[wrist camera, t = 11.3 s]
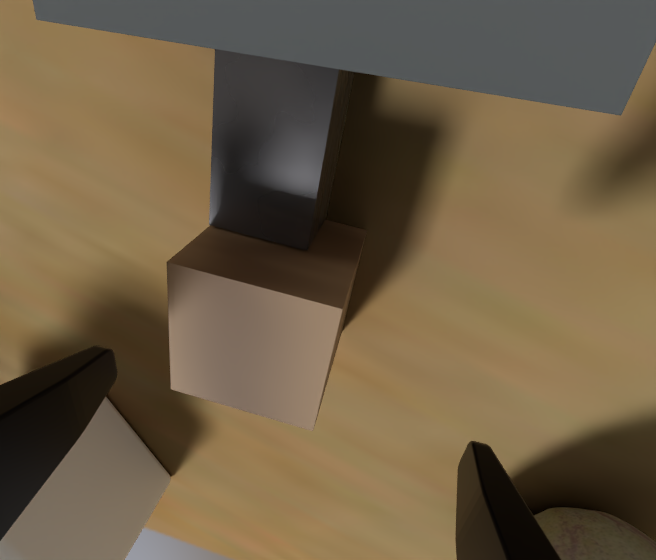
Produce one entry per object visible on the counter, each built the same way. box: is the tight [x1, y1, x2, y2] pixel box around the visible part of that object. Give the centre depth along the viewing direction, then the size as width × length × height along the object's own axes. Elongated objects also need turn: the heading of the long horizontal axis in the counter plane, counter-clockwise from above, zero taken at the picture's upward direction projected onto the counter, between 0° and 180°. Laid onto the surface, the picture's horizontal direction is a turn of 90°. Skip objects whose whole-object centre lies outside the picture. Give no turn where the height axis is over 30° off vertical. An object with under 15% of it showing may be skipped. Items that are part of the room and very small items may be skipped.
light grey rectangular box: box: [0, 397, 171, 560], centre depth 19 cm, size 7×7×12 cm
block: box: [167, 220, 367, 431], centre depth 13 cm, size 4×4×5 cm
